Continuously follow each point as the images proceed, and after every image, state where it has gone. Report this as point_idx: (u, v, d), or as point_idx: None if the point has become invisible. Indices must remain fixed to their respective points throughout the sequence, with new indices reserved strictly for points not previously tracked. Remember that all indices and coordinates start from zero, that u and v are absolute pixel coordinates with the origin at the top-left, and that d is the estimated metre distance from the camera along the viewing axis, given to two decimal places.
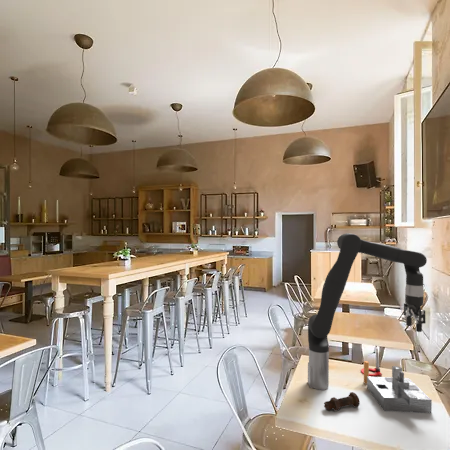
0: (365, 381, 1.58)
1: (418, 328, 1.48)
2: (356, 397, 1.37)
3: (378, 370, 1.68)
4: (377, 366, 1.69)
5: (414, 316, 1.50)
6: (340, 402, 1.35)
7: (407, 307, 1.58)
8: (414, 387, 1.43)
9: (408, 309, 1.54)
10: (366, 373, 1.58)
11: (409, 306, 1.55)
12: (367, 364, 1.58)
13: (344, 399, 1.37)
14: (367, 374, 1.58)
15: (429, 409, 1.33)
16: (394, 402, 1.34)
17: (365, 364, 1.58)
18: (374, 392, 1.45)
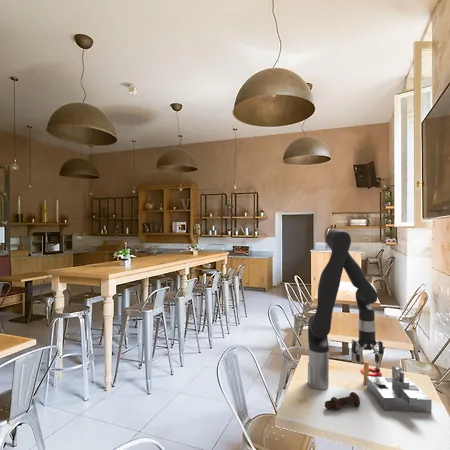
0: (365, 381, 1.58)
1: (378, 359, 1.58)
2: (357, 397, 1.37)
3: (378, 370, 1.68)
4: (377, 366, 1.69)
5: (375, 349, 1.57)
6: (340, 402, 1.36)
7: (356, 344, 1.59)
8: (414, 387, 1.43)
9: (365, 345, 1.57)
10: (366, 373, 1.58)
11: (363, 342, 1.58)
12: (367, 364, 1.58)
13: (345, 399, 1.37)
14: (367, 374, 1.58)
15: (429, 409, 1.33)
16: (394, 402, 1.34)
17: (365, 364, 1.58)
18: (374, 392, 1.45)
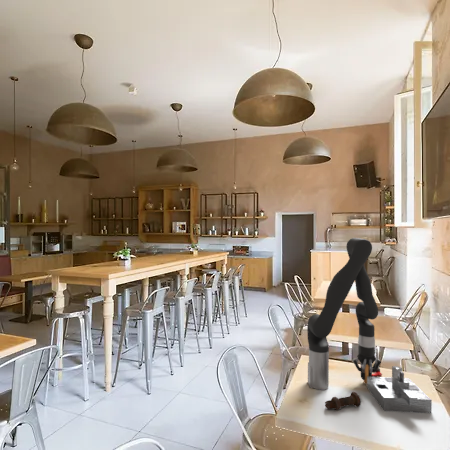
0: (365, 381, 1.58)
1: (371, 376, 1.58)
2: (357, 397, 1.37)
3: (378, 370, 1.68)
4: None
5: (371, 366, 1.57)
6: (341, 401, 1.36)
7: (357, 361, 1.59)
8: (414, 387, 1.43)
9: (365, 360, 1.57)
10: (366, 373, 1.58)
11: (363, 357, 1.58)
12: None
13: (345, 399, 1.37)
14: (367, 374, 1.58)
15: (429, 409, 1.33)
16: (394, 402, 1.34)
17: None
18: (374, 392, 1.45)
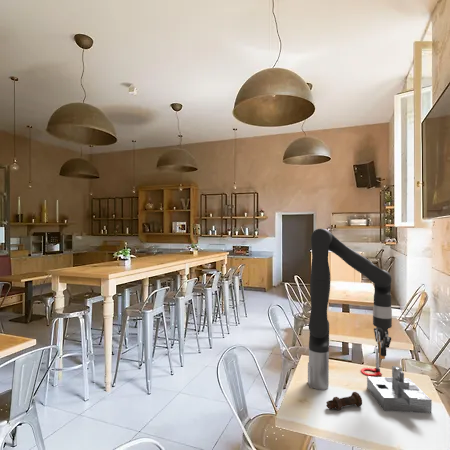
0: (384, 356, 1.43)
1: None
2: (359, 397, 1.37)
3: (378, 370, 1.68)
4: (377, 366, 1.69)
5: None
6: (342, 401, 1.36)
7: None
8: (414, 387, 1.43)
9: (387, 333, 1.43)
10: None
11: None
12: None
13: (346, 398, 1.37)
14: None
15: (429, 409, 1.33)
16: (394, 402, 1.34)
17: None
18: (374, 392, 1.45)
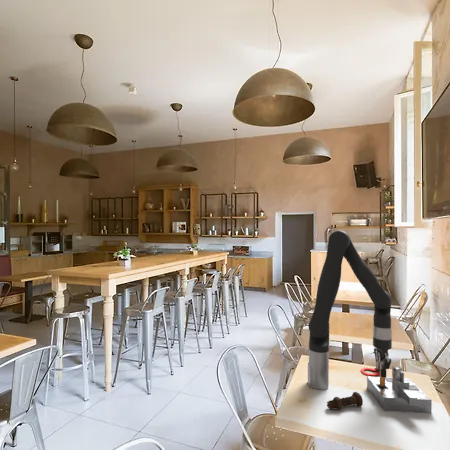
0: (384, 383, 1.43)
1: None
2: (359, 397, 1.37)
3: None
4: (377, 366, 1.69)
5: None
6: (343, 401, 1.36)
7: None
8: (414, 387, 1.43)
9: (387, 354, 1.43)
10: None
11: None
12: None
13: (347, 399, 1.37)
14: None
15: (429, 409, 1.33)
16: (394, 402, 1.34)
17: None
18: (374, 392, 1.45)
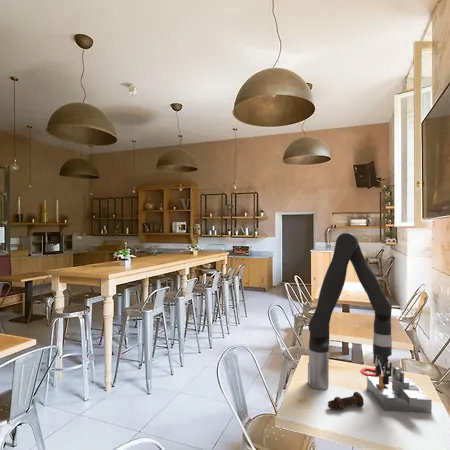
0: None
1: None
2: (360, 397, 1.37)
3: None
4: None
5: None
6: (344, 401, 1.36)
7: None
8: (414, 387, 1.43)
9: (387, 361, 1.43)
10: None
11: None
12: None
13: (348, 399, 1.37)
14: None
15: (429, 409, 1.33)
16: (394, 402, 1.34)
17: None
18: (374, 392, 1.45)
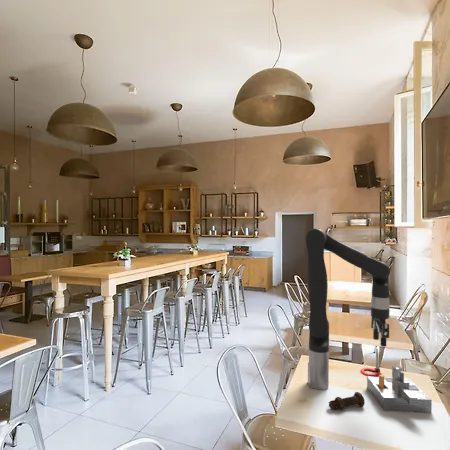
0: None
1: None
2: (361, 397, 1.37)
3: (378, 370, 1.68)
4: (377, 366, 1.69)
5: None
6: (345, 402, 1.36)
7: None
8: (414, 387, 1.43)
9: None
10: None
11: None
12: None
13: (349, 399, 1.37)
14: None
15: (429, 409, 1.33)
16: (394, 402, 1.34)
17: None
18: (374, 392, 1.45)
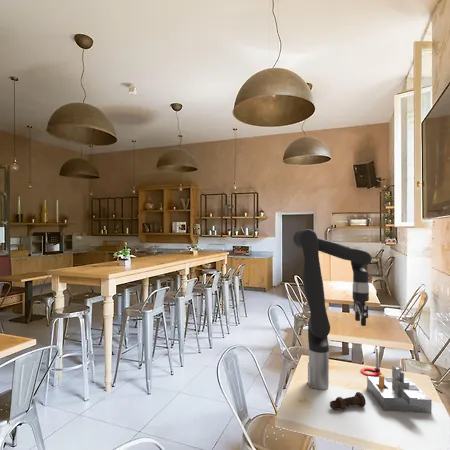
0: None
1: None
2: (362, 397, 1.37)
3: (378, 370, 1.68)
4: (377, 366, 1.69)
5: None
6: (346, 402, 1.36)
7: None
8: (414, 387, 1.43)
9: None
10: None
11: None
12: None
13: (350, 399, 1.37)
14: None
15: (429, 409, 1.33)
16: (394, 402, 1.34)
17: None
18: (374, 392, 1.45)
